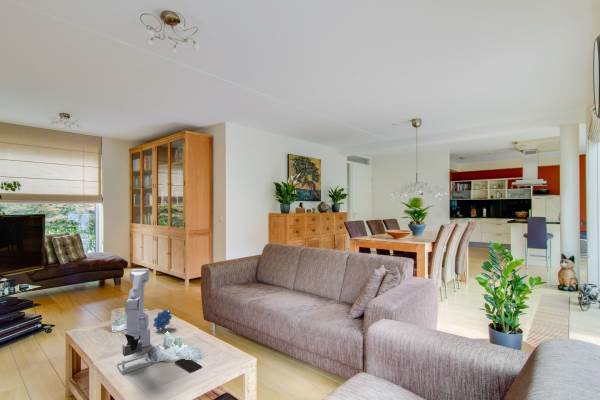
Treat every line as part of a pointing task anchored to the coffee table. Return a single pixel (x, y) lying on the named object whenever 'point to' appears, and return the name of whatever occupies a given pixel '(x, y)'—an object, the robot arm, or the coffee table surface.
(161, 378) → the coffee table surface
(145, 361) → the tray
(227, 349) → the coffee table surface
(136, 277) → the robot arm
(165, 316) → the grapes
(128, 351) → the drive
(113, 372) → the coffee table surface
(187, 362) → the smartphone
